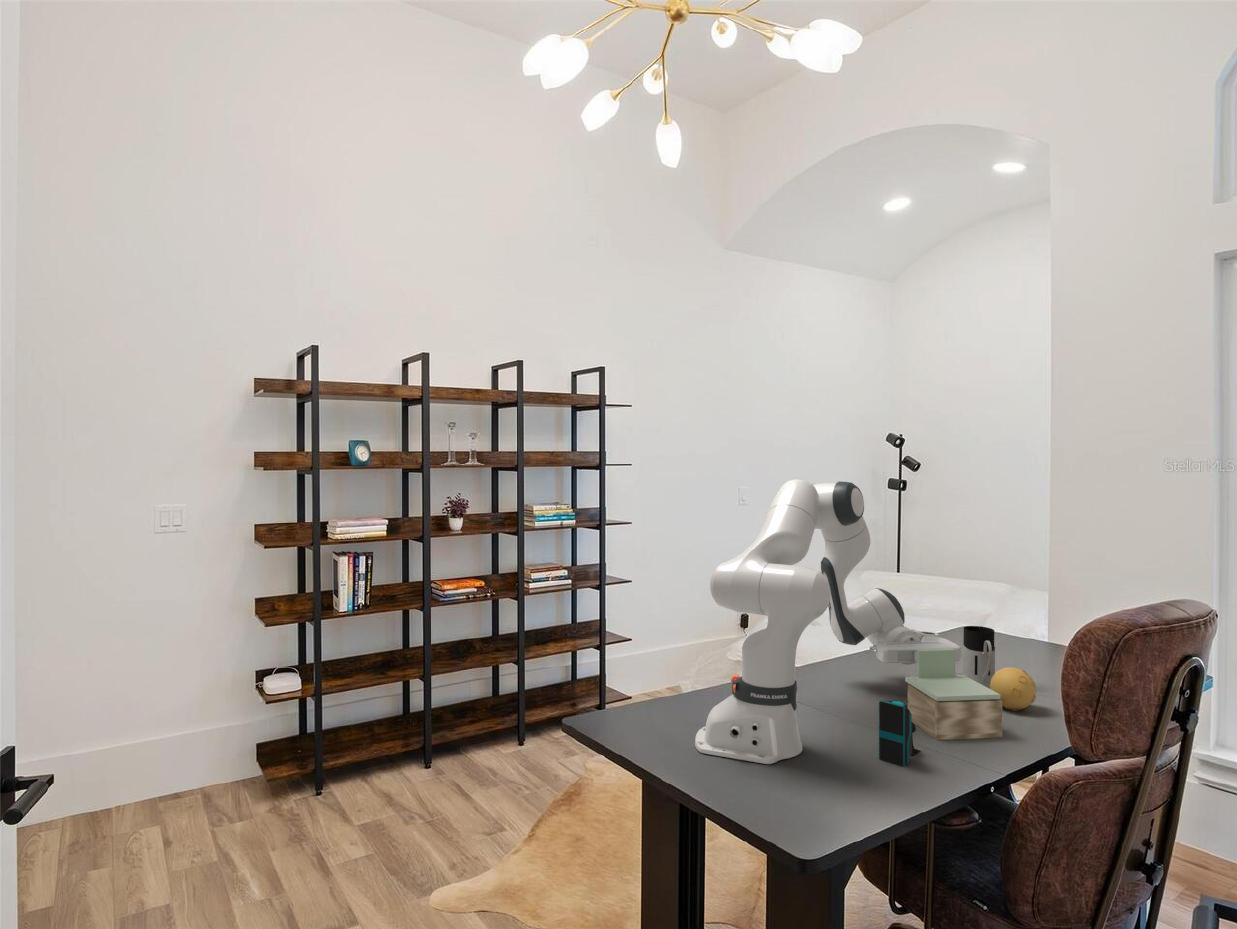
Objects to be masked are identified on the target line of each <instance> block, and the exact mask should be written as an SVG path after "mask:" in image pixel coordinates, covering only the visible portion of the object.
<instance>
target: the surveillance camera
mask: <svg viewBox="0 0 1237 929" xmlns="http://www.w3.org/2000/svg"><path fill="white" fill-rule="evenodd" d="M911 716H912V714H911V712H910V710H909V709H908V702H907V701H903V700H900V699H890V700H887V701H885V700H879V701H878V759H879V761H882V762H884V763H885V762H886V763H889V764H892V765H895V766H898V767H900V768H901V767H906V766H907V765H908V764H909V762H910V756H911V757H915V756H916V755H918V754H919V753H920V752H921V750H920V749H917V748H915V746H914V735H913V734H914V733H915V732H916V731H917V728H916V727H917V725H916V724H915V723H913V722H912V721H911Z"/></svg>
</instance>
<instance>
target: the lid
mask: <svg viewBox="0 0 1237 929" xmlns="http://www.w3.org/2000/svg"><path fill="white" fill-rule="evenodd" d="M904 681H905V682H906V683H907V684H911V685H912V686H914V687H915V688H917V689H918V690H920V691H922V692H923V693H925V694H926V695H928V696H930V697H931V698H933V699H934V700H936V701H959V700H987V699H1000V694H998V693H996V692H995V691H993V690H991V689H989V688H987V687H985V686H983V685H981V684H980V683H978V682H976V681H974V680H972V679H970V678H968V677H966V676H964V675H963V674H957V675H956V662H955V650H954V649H923V650H917V663H916V675H915V676H905V678H904Z"/></svg>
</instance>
